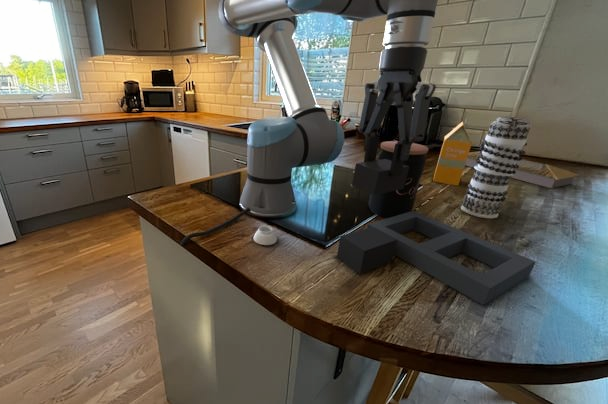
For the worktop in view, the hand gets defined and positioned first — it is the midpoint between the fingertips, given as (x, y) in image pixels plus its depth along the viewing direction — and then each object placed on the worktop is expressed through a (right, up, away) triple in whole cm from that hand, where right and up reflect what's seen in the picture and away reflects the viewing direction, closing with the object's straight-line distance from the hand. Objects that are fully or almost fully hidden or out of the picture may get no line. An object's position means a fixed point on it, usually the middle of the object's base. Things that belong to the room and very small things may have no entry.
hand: (381, 170), depth 62 cm
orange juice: (+43, +1, +44) cm, 61 cm away
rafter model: (+74, +5, +54) cm, 92 cm away
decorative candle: (+35, -9, +19) cm, 42 cm away
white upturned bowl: (-24, -15, +3) cm, 29 cm away
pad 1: (0, -3, +2) cm, 4 cm away
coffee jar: (+10, -9, +18) cm, 23 cm away
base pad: (+11, -18, -1) cm, 21 cm away
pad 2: (-5, -18, -3) cm, 19 cm away
